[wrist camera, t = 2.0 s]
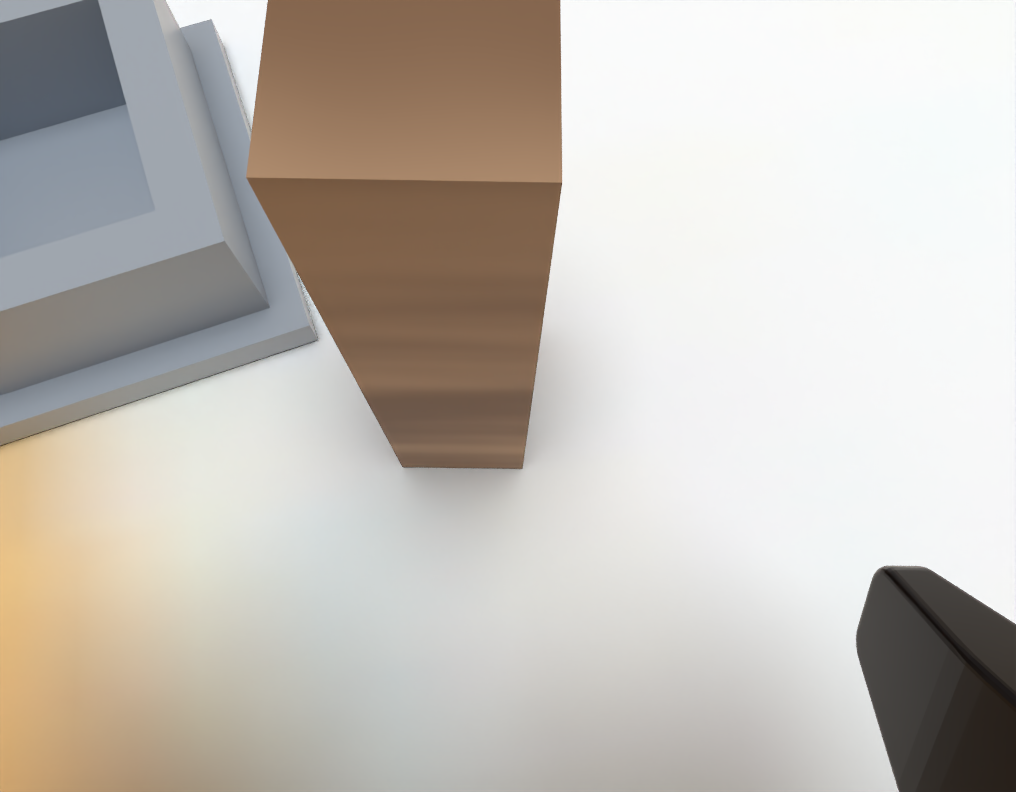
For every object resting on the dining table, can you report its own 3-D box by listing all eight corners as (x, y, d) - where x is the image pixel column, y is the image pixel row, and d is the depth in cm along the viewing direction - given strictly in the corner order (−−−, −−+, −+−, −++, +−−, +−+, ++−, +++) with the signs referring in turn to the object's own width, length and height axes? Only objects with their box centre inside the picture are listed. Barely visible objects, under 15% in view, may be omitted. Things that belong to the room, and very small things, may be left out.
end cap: (318, 340, 21) (271, 261, 17) (-71, 468, 20) (-228, 420, 16) (222, 44, 24) (161, -89, 19) (-124, 143, 23) (-270, 25, 18)
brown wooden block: (522, 468, 20) (561, 182, 8) (402, 467, 20) (246, 177, 8) (523, 320, 21) (558, -136, 9) (410, 319, 21) (285, -141, 9)
